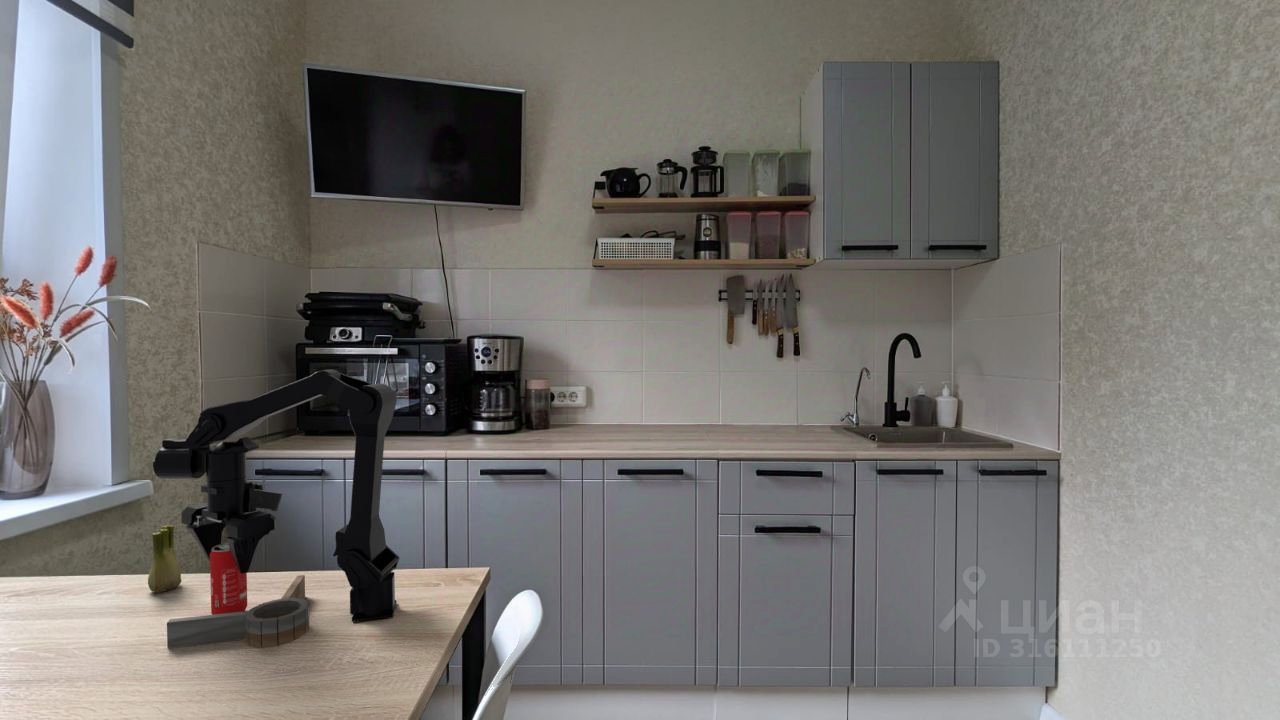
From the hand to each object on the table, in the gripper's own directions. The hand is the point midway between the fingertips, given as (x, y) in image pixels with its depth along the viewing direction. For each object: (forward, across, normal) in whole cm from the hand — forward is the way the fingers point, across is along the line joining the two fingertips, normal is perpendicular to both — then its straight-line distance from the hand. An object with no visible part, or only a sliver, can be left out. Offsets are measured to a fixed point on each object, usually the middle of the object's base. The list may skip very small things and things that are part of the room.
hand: (229, 568), depth 107 cm
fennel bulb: (+8, +23, 0) cm, 24 cm away
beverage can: (+8, 0, 0) cm, 8 cm away
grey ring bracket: (+8, -6, 0) cm, 10 cm away
